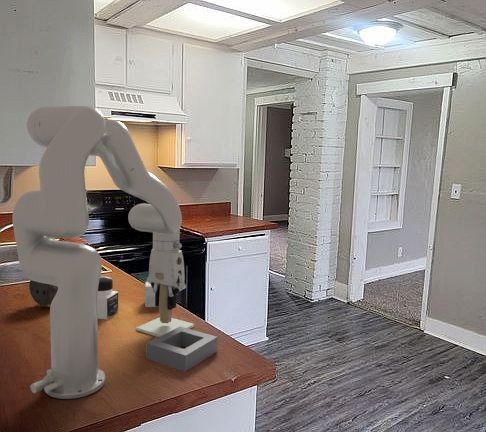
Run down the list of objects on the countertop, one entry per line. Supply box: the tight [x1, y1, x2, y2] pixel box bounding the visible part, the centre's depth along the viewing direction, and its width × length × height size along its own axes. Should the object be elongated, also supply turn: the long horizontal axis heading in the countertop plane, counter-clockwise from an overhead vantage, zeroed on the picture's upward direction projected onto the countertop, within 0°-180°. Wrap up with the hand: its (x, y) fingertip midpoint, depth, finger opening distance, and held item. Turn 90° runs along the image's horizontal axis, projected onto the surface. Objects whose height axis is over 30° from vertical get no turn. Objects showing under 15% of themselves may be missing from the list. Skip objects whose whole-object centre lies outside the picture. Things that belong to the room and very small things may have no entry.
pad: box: [135, 316, 195, 338], centre depth 131 cm, size 12×12×1 cm
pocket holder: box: [145, 327, 218, 372], centre depth 114 cm, size 13×12×4 cm
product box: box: [144, 281, 159, 308], centre depth 152 cm, size 6×6×7 cm
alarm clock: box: [28, 279, 58, 310], centre depth 144 cm, size 11×5×16 cm, turn 65°
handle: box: [155, 273, 173, 323], centre depth 130 cm, size 5×6×15 cm
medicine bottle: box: [97, 276, 119, 321], centre depth 140 cm, size 7×7×12 cm
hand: (165, 306), depth 131 cm, fingers closed on handle, 4 cm apart
